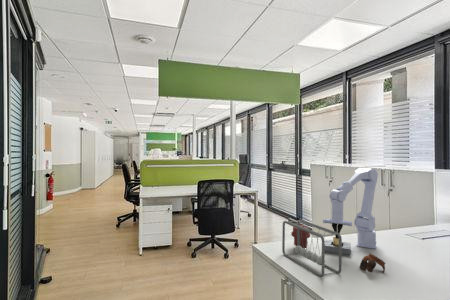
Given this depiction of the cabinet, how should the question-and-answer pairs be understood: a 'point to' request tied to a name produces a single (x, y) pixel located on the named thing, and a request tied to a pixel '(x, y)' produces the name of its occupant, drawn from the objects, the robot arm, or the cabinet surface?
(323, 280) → the cabinet surface
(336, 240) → the bushing
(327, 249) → the block
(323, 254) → the newton's cradle
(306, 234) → the mechanical component
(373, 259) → the brown sunglasses
